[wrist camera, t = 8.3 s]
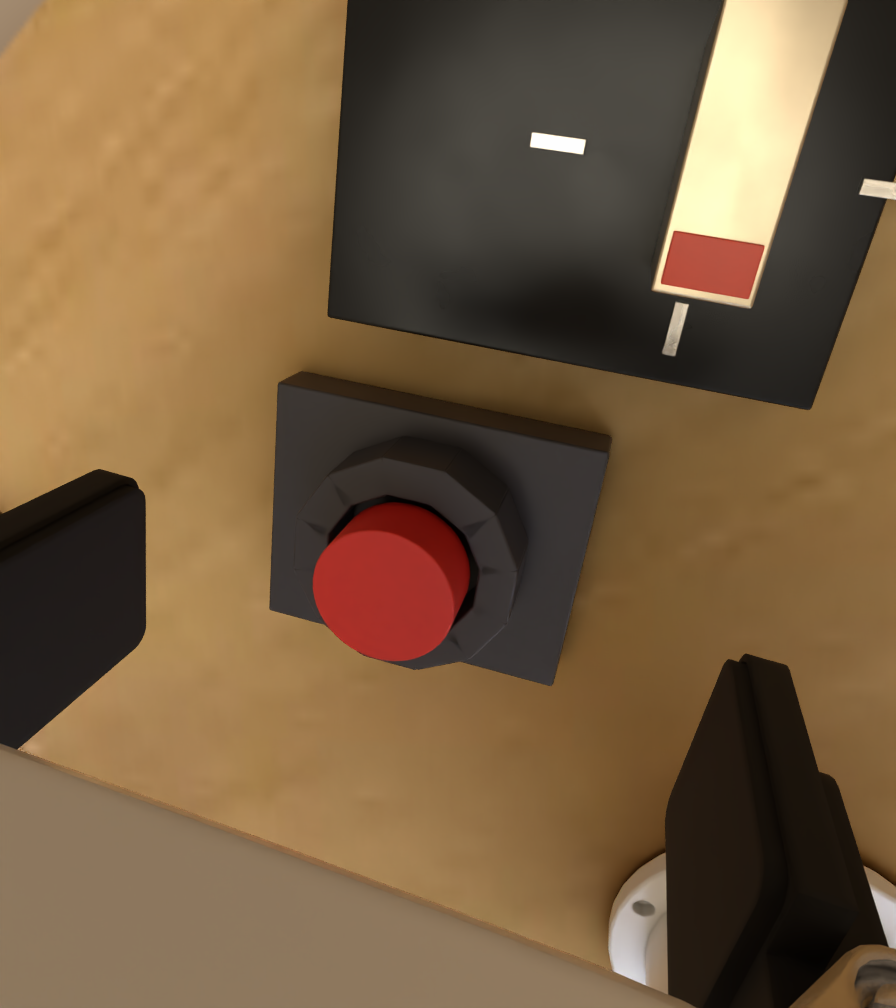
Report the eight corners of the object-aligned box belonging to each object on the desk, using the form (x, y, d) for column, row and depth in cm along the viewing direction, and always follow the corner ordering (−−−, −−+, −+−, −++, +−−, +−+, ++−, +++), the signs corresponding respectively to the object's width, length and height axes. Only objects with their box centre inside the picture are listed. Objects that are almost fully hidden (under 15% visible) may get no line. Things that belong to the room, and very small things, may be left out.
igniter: (613, 435, 24) (606, 478, 20) (558, 658, 28) (544, 728, 24) (300, 370, 26) (243, 399, 22) (289, 587, 29) (239, 642, 26)
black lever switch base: (983, -59, 17) (1036, -99, 15) (819, 393, 22) (840, 418, 19) (389, -109, 20) (353, -150, 17) (356, 306, 24) (323, 318, 22)
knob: (707, 38, 17) (729, -21, 12) (797, 48, 17) (853, -8, 12) (650, 268, 19) (650, 292, 15) (728, 282, 19) (753, 311, 14)
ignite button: (480, 519, 22) (464, 551, 20) (459, 639, 24) (443, 678, 22) (344, 487, 23) (316, 514, 21) (334, 605, 25) (307, 640, 23)
